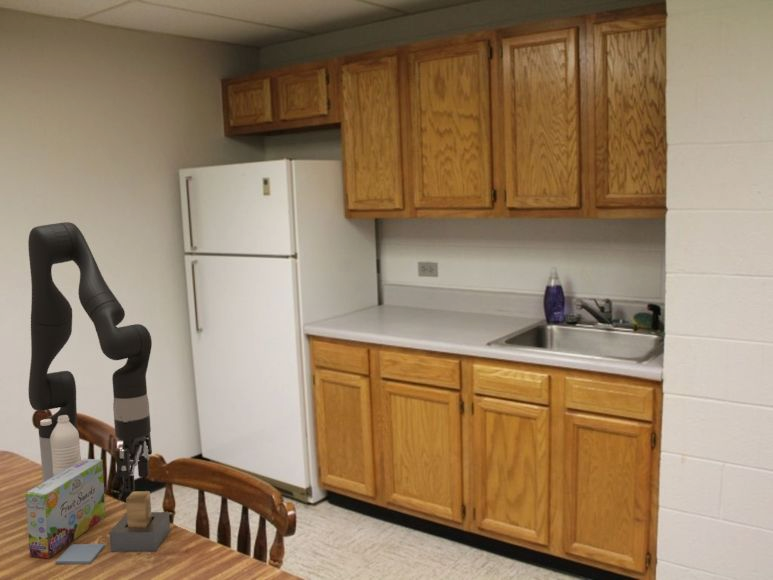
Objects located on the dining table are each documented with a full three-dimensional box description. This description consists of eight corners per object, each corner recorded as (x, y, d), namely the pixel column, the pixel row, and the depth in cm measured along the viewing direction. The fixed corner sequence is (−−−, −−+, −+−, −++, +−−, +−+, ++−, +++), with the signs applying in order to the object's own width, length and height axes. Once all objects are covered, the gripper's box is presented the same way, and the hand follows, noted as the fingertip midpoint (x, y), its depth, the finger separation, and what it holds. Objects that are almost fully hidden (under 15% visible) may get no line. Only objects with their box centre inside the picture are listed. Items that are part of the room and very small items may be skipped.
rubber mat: (72, 546, 161) (71, 544, 161) (104, 546, 161) (104, 544, 161) (56, 563, 154) (55, 561, 154) (90, 563, 154) (90, 561, 153)
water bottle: (76, 504, 183) (68, 410, 180) (90, 511, 179) (82, 414, 176) (42, 516, 177) (34, 419, 173) (56, 524, 173) (47, 424, 169)
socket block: (128, 530, 169) (126, 512, 168) (170, 530, 168) (168, 512, 168) (110, 551, 159) (109, 532, 158) (155, 551, 158) (154, 532, 158)
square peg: (135, 536, 165) (132, 491, 164) (152, 536, 165) (149, 491, 164) (129, 545, 162) (125, 498, 160) (146, 544, 161) (143, 498, 160)
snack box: (51, 559, 156) (45, 494, 154) (28, 557, 157) (22, 492, 155) (107, 516, 176) (103, 458, 174) (87, 515, 177) (82, 456, 175)
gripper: (127, 405, 167) (132, 472, 169) (101, 424, 152) (107, 497, 154) (159, 405, 166) (164, 471, 168) (136, 424, 152) (141, 496, 154)
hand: (136, 483), depth 161 cm, fingers open, 8 cm apart
